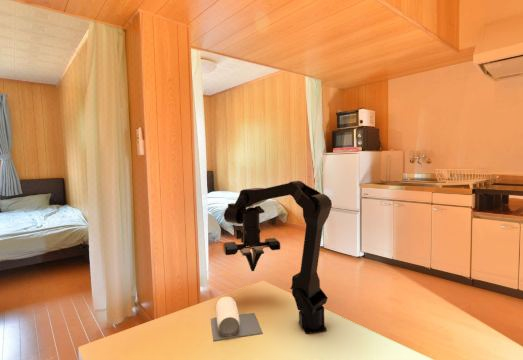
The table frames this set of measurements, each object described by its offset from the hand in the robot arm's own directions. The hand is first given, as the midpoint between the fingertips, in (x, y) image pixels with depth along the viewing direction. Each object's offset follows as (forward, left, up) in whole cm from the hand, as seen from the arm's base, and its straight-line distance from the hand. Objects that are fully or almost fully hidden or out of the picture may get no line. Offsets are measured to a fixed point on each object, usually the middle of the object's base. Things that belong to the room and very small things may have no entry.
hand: (252, 270), depth 105 cm
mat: (+8, +12, -12) cm, 19 cm away
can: (+10, +5, -8) cm, 14 cm away
